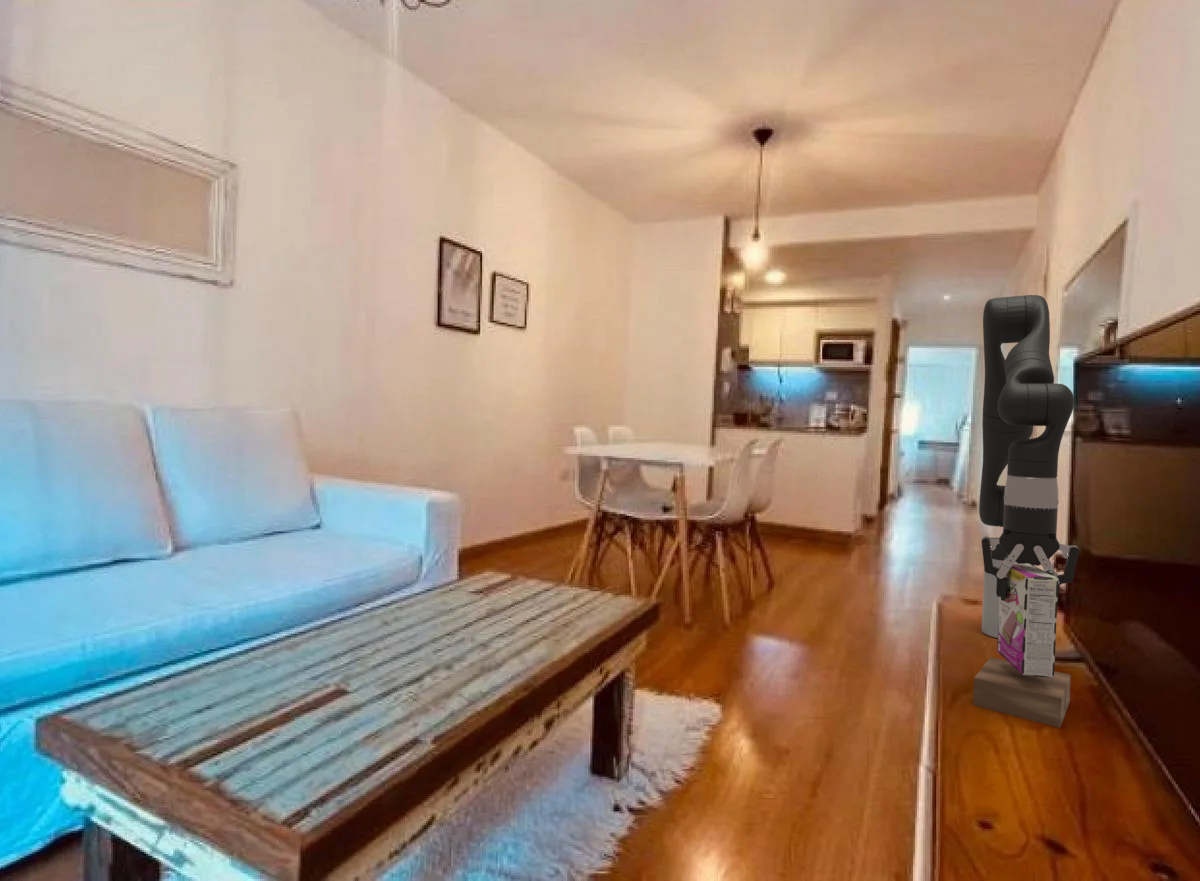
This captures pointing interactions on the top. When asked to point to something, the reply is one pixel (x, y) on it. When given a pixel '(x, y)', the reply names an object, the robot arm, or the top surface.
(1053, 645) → the candy bar box
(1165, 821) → the top surface
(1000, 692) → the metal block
